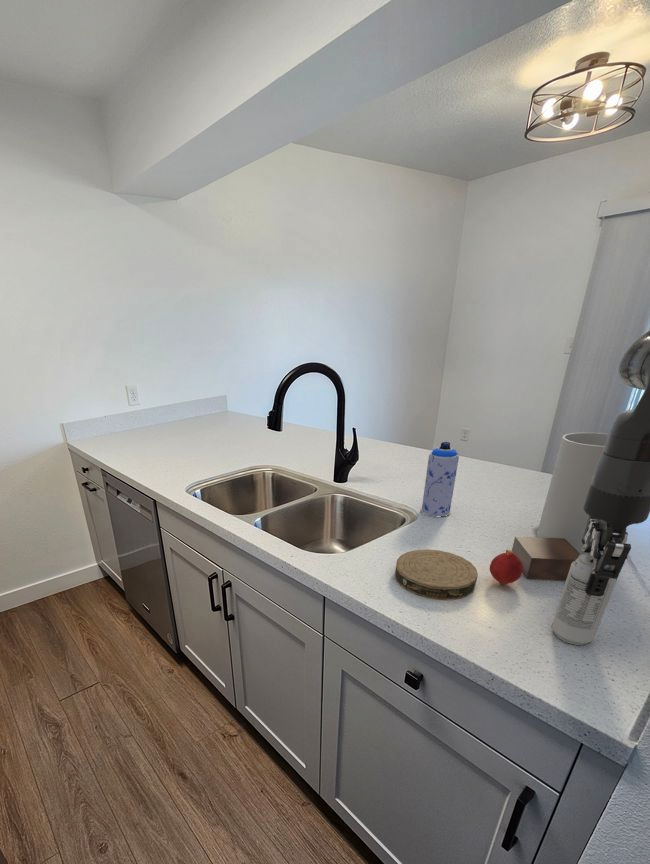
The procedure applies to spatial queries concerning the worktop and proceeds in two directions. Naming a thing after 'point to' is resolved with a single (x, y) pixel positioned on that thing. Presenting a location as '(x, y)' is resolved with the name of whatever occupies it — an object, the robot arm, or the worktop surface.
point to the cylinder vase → (571, 488)
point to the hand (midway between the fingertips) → (589, 583)
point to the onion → (506, 568)
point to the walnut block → (545, 557)
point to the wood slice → (436, 574)
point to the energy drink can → (580, 605)
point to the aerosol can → (440, 481)
